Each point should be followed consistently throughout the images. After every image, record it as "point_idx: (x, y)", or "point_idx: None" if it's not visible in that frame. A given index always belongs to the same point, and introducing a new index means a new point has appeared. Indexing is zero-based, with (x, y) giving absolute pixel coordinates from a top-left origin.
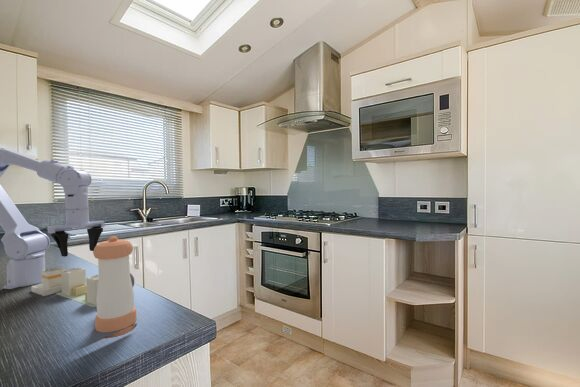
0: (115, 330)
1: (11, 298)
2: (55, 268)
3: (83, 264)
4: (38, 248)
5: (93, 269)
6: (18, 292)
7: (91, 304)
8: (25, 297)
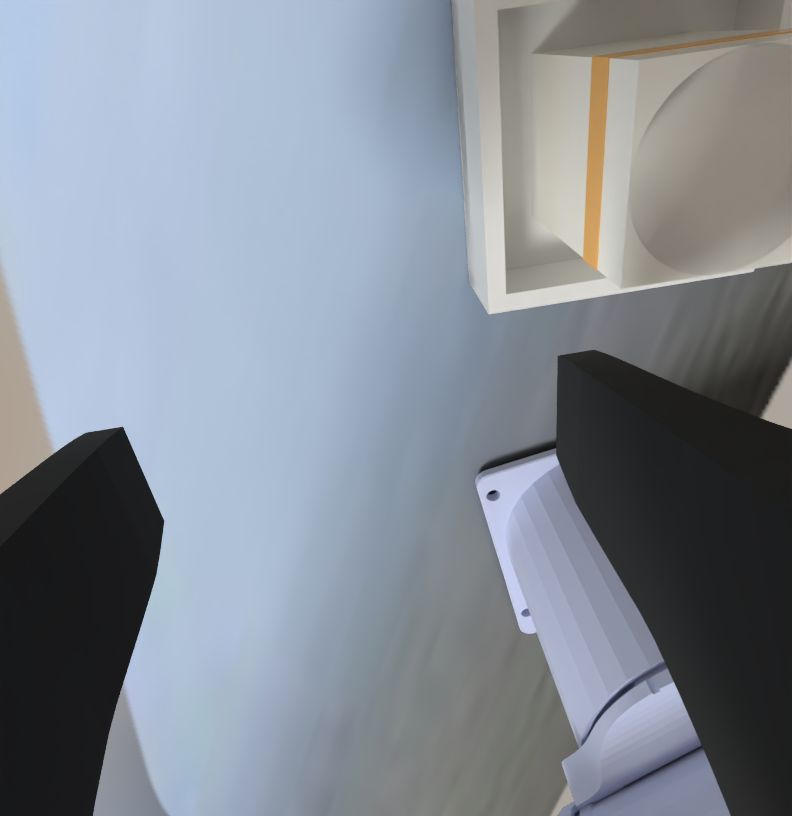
0: None
1: (789, 307)
2: (692, 214)
3: (183, 772)
4: (715, 784)
5: (147, 619)
6: None
7: None
8: None
